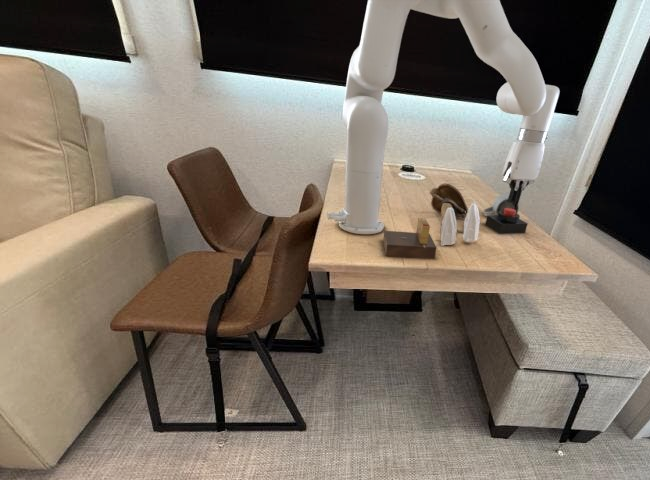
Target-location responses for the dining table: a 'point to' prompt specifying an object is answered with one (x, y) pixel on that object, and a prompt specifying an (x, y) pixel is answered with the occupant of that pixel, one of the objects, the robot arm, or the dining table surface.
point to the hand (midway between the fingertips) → (512, 202)
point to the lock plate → (407, 245)
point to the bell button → (509, 212)
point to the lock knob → (422, 230)
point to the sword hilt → (448, 201)
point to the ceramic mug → (500, 206)
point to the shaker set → (469, 226)
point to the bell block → (506, 223)
